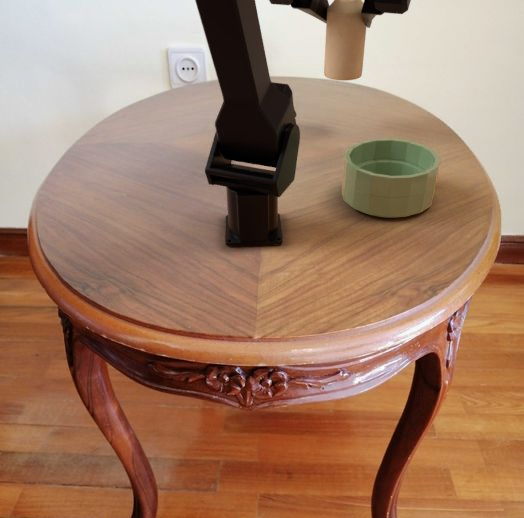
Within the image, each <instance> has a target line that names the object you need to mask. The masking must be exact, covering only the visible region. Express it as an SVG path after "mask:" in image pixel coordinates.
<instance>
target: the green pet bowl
mask: <svg viewBox="0 0 524 518" xmlns="http://www.w3.org/2000/svg"><path fill="white" fill-rule="evenodd" d="M440 166H441V158H440V155H438V153H437V151H436V150H434V149H432V148H430V147H428V146H427V145H426V144H422V143H420V142H416V141H412V140H408V139H400V138H391V137H389V138H373V139H367V140H363V141H359V142H357V143H355V144H353V145H351V146H349V147H348V149H347V150H346V151H345V153H344V155H343V168H342V178H341V179H342V180H341V196H342V199H343V201H344V202H345V203H346V204H347V205H348V206H350V207H351V208H352V209H354V210H355V211H359V212H361V213H363V214H366V215H370V216H371V217H372V216H373V217H377V218H378V217H379V218H386V219H387V218H388V219H395V218H405V217H409V216H413V215H418V214H421V213H422V212H425V211H426V210H427V209H428V208H430V207H431V206H432V203H433V200H434V197H435V191H436V186H437V182H438V176H439V170H440Z"/></svg>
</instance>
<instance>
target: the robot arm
mask: <svg viewBox="0 0 524 518" xmlns="http://www.w3.org/2000/svg"><path fill="white" fill-rule="evenodd" d="M268 1H269V3H270V4H271V5H278V6H280V5H281V6H290V7H291V8H292V9H293V10H295V9H296V10H299V11H301V12H303V13H305V14H307V15H310V16H311V17H314V18H315V19H317V20H319V21H320V22H321V23H322V22H323V23H324V24H326V23H327V8H328V7H329V6H330V3H329V0H268ZM411 1H412V0H363V7H362V10H361V14H362V17H363V20H364V23H365V25H366V29H367V28H368V29H370V28H371V26H372V24H373V23H372V22H373V20H374V19H375V18H376V17H377V16H383V15H384V14H393V15H403V14H405V13H406V12H408V11H409V8H410V5H411ZM194 2H195V5H196V8H197V11H198V15H199V19H200V22H201V26H202V29H203V33H204V37H205V39H206V42H207V47H208V50H209V53H210V57H211V60H212V64H213V68H214V71H215V75H216V78H217V81H218V85H219V88H220V89H219V90H220V93H221V96H222V100H223V101H222V104H221V107H220V108H219V112H218V114H217V117H216V118H215V121H214V127H215V133H214V137H213V140H212V142H211V143H212V144H211V147H210V151H209V154H208V157H207V161H206V165H205V168H204V173H205V177H206V180H207V183H208V185H210V186H220V187H225V189H226V191H225V192H226V205H227V215H226V216H225V229H224V230H225V231H224V233H225V234H224V235H225V237H224V242H225V246H227V247H245V246H274V245H276V246H277V245H278V246H279V245H282V244H283V242H284V238H283V230H282V223H281V222H282V221H281V214H280V213H279V198H281V196H282V195H283V194H284V193H285V191H286V190H287V189H288V188H289V187H290V185H292V184H293V182H294V181H295V177H296V171H297V165H298V164H297V163H298V156H299V149H300V142H301V129H300V127H299V124H297V120H296V118H297V112H296V110H295V105H294V98H293V97H294V96H293V90H292V89H291V87H290V85H289V84H288V83H283V82H282V83H280V82H272V80H271V76H270V71H269V65H268V60H267V56H266V49H265V45H264V40H263V35H262V30H261V25H260V19H259V15H258V9H257V4H256V0H194ZM233 162H239V163H245V164H251V165H257V166H261V167H262V166H263V167H269V168H273V169H275V170H271V169H265V168H260V167H254V166H247V165H243V164H242V165H241V164H236V163H233Z"/></svg>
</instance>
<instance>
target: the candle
mask: <svg viewBox="0 0 524 518" xmlns="http://www.w3.org/2000/svg"><path fill="white" fill-rule="evenodd" d="M363 3H364V0H333V1H332V2H331V4H329V7H328V8H327V23H325V25H326V27H325V42H324V43H325V45H324V62H323V64H324V65H323V76H324V77H325V78H327V79H330V80H335V81H343V82H344V81H353V80H354V81H355V80H357V79H359V78H361V77H362V76H363V68H364V55H365V46H366V35H367V27H366V25H365V23H364V20H363V17H362V14H361V10H362V7H363Z"/></svg>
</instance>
